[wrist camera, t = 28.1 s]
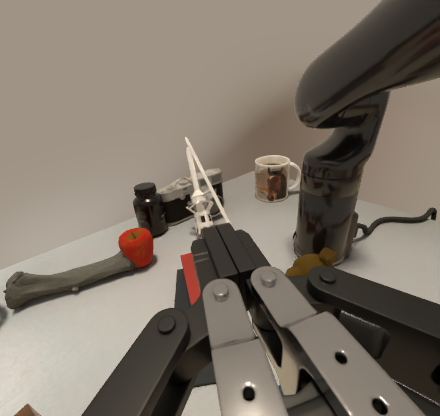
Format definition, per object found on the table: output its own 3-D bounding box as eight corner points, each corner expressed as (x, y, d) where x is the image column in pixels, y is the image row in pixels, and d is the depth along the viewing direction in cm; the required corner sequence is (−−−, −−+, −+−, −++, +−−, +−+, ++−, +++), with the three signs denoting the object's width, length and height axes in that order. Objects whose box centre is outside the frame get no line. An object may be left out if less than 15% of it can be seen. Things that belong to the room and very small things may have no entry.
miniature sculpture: (154, 156, 57) (193, 246, 50) (175, 132, 53) (222, 226, 46) (172, 160, 62) (210, 242, 55) (193, 138, 58) (238, 224, 51)
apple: (156, 249, 51) (148, 220, 47) (159, 266, 45) (150, 236, 42) (127, 257, 49) (116, 228, 46) (126, 276, 44) (114, 245, 40)
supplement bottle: (172, 230, 57) (163, 186, 51) (145, 240, 53) (133, 194, 48) (162, 220, 62) (153, 178, 56) (137, 228, 59) (125, 185, 53)
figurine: (284, 251, 39) (280, 281, 35) (330, 239, 35) (332, 272, 30) (308, 278, 42) (306, 309, 38) (354, 270, 37) (358, 305, 33)
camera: (178, 238, 54) (170, 200, 49) (158, 220, 62) (149, 186, 57) (241, 208, 64) (239, 174, 59) (217, 196, 72) (213, 166, 67)
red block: (228, 312, 30) (204, 249, 42) (194, 323, 29) (180, 255, 41) (230, 333, 32) (207, 267, 44) (199, 343, 31) (184, 273, 43)
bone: (6, 316, 38) (-15, 291, 35) (21, 288, 44) (4, 264, 41) (140, 275, 44) (132, 250, 41) (139, 254, 49) (131, 232, 46)
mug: (265, 185, 76) (265, 153, 71) (300, 192, 70) (304, 157, 64) (249, 198, 69) (248, 163, 64) (287, 206, 63) (289, 168, 57)
